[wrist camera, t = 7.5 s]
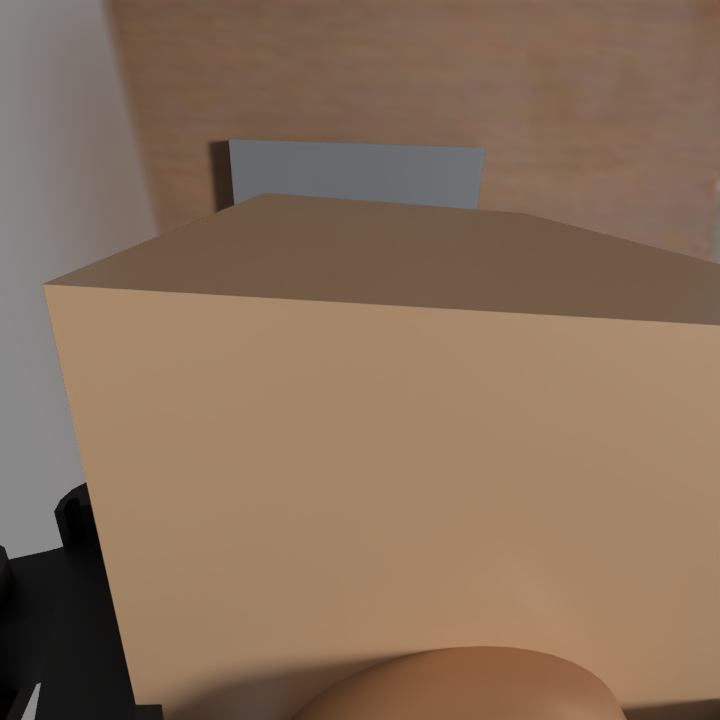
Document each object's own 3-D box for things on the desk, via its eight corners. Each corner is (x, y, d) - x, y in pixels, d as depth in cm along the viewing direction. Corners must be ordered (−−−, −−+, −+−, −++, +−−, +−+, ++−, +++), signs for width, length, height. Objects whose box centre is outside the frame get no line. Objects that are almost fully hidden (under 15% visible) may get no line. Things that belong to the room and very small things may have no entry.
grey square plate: (233, 140, 28) (185, 130, 19) (478, 148, 29) (544, 142, 20) (252, 365, 35) (223, 438, 25) (450, 365, 36) (490, 436, 26)
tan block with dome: (264, 192, 12) (-267, 410, 1) (524, 213, 13) (1534, 475, 2) (267, 519, 17) (154, 1127, 6) (455, 522, 17) (644, 1080, 7)
